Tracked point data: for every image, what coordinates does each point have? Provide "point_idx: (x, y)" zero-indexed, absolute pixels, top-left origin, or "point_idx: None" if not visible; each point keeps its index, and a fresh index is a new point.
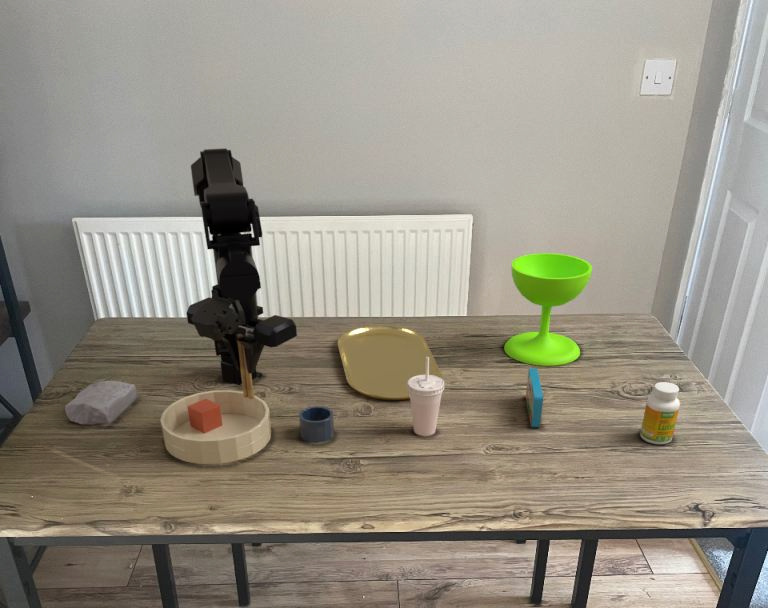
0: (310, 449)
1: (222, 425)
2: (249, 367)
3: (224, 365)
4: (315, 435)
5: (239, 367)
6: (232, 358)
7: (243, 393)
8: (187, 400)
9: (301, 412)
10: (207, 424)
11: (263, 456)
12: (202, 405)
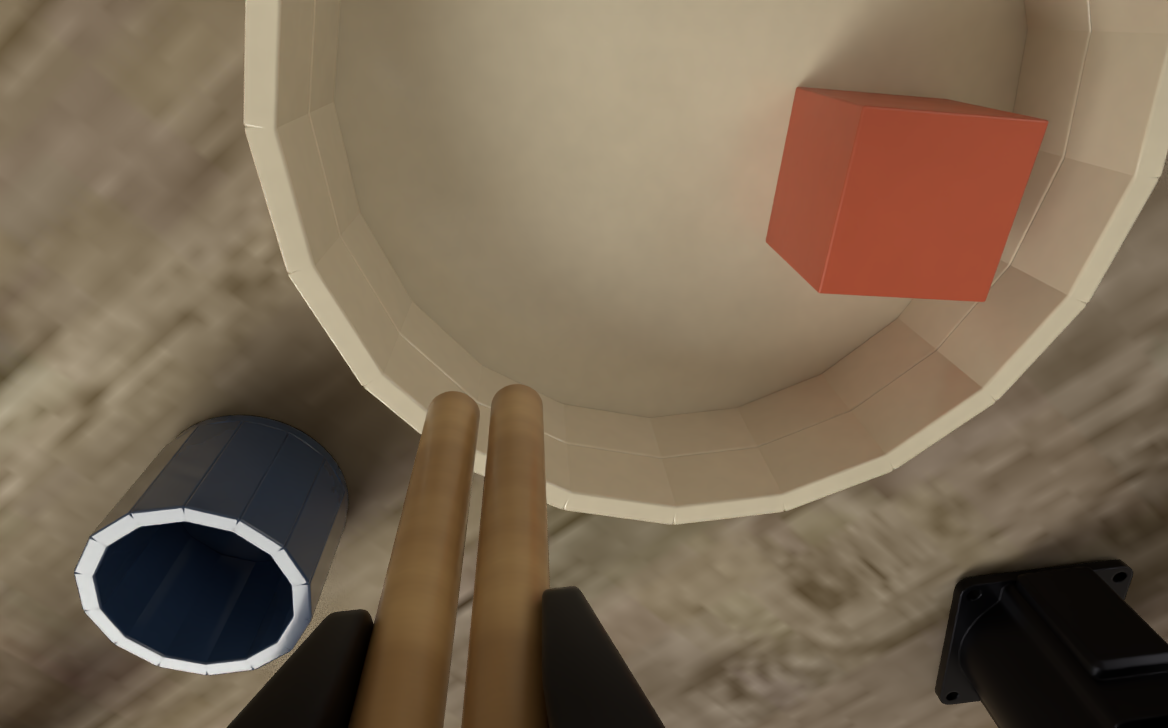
0: (162, 386)
1: (764, 241)
2: (264, 693)
3: (1134, 645)
4: (147, 470)
5: (543, 622)
6: (656, 715)
7: (524, 402)
8: (1106, 193)
9: (283, 560)
10: (809, 134)
11: None
12: (941, 210)
